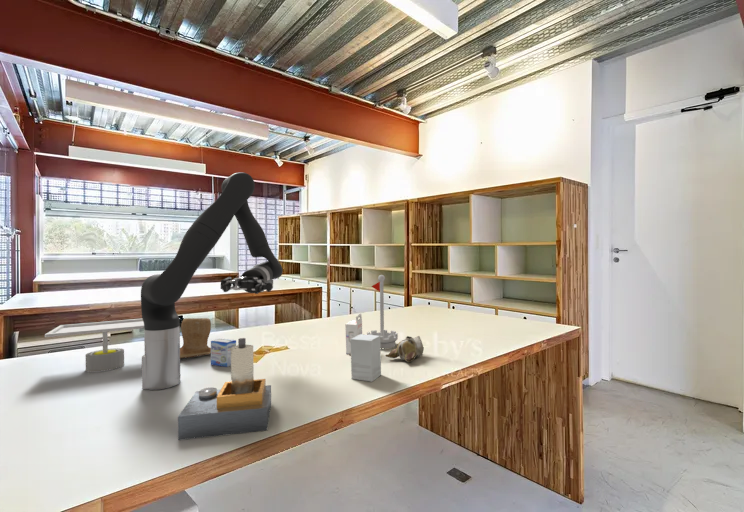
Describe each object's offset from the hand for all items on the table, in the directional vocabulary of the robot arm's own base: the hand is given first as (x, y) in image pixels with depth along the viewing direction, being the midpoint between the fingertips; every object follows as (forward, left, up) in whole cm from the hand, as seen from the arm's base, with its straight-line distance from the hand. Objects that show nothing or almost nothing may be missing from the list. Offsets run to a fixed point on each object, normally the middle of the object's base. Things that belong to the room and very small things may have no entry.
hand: (240, 289), depth 99 cm
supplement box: (+36, +6, -30) cm, 47 cm away
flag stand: (+50, +42, -30) cm, 72 cm away
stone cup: (-25, +45, -30) cm, 59 cm away
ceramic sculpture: (+55, +21, -30) cm, 66 cm away
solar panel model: (-51, +37, -30) cm, 69 cm away
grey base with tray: (-1, -15, -29) cm, 33 cm away
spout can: (+2, -15, -24) cm, 29 cm away
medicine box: (-11, +31, -30) cm, 44 cm away
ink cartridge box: (+37, +36, -30) cm, 60 cm away
